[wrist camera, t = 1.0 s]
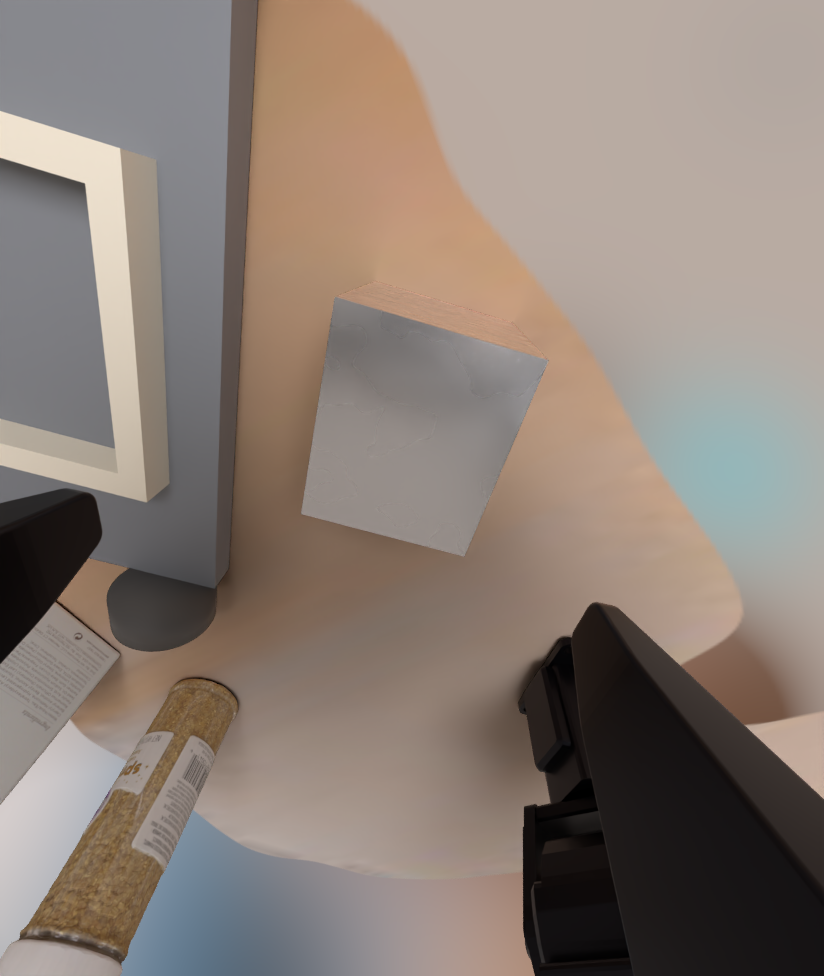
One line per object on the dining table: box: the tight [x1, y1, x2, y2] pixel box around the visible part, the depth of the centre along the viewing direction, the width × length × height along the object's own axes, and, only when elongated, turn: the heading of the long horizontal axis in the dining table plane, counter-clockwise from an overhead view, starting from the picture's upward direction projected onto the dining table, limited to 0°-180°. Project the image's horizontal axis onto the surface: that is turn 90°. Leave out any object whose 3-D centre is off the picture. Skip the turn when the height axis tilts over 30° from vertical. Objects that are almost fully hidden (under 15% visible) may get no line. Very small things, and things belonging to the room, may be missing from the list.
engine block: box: [301, 281, 549, 556], centre depth 13 cm, size 5×6×6 cm
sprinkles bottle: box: [0, 679, 238, 976], centre depth 21 cm, size 5×5×13 cm
